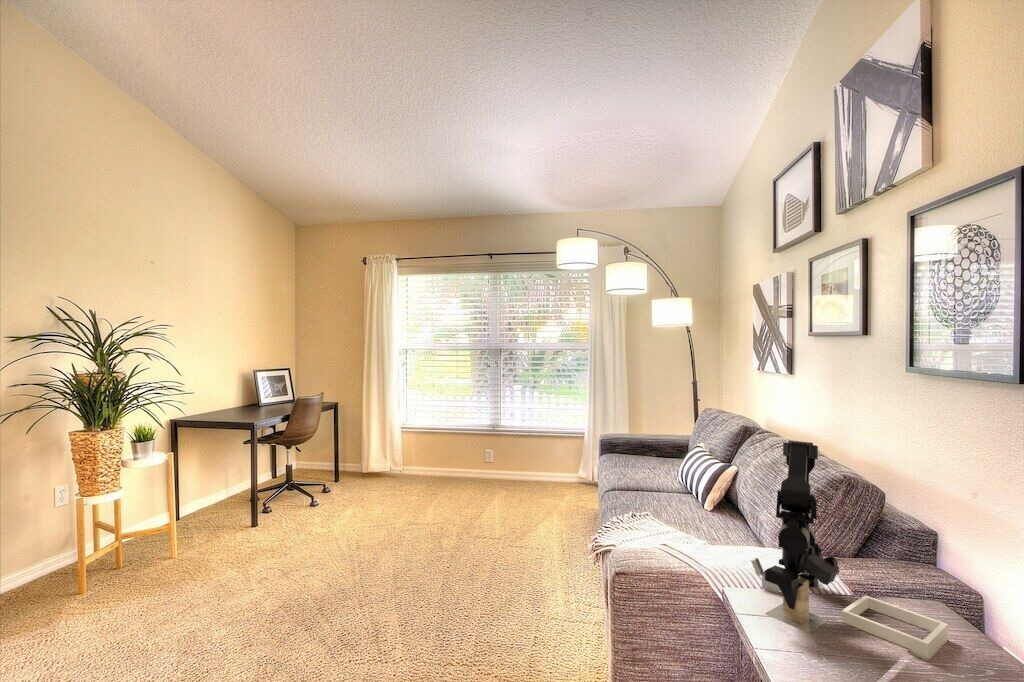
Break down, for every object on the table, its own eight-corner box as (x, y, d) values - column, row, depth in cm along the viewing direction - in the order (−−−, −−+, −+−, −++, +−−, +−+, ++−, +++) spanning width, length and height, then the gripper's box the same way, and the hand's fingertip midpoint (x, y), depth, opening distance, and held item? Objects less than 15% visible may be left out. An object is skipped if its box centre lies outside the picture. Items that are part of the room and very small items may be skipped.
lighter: (780, 595, 128) (780, 565, 129) (777, 597, 127) (777, 566, 128) (753, 585, 134) (753, 556, 134) (750, 587, 133) (750, 557, 133)
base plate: (764, 617, 117) (764, 613, 117) (784, 606, 123) (784, 602, 123) (808, 637, 109) (808, 633, 109) (828, 624, 114) (828, 620, 114)
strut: (783, 615, 116) (783, 577, 116) (791, 610, 118) (791, 573, 119) (800, 623, 113) (800, 584, 113) (808, 618, 115) (808, 579, 116)
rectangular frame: (841, 625, 114) (841, 610, 114) (865, 609, 122) (864, 595, 122) (928, 661, 101) (927, 644, 101) (948, 640, 109) (947, 624, 109)
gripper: (814, 560, 104) (814, 634, 104) (850, 543, 115) (850, 609, 114) (762, 543, 114) (763, 611, 113) (800, 529, 124) (800, 591, 124)
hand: (796, 606), depth 116 cm, fingers closed on strut, 4 cm apart
